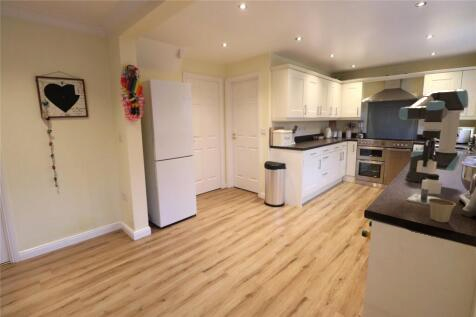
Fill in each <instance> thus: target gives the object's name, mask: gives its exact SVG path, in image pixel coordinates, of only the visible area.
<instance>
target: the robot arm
mask: <svg viewBox="0 0 476 317" xmlns="http://www.w3.org/2000/svg"><path fill="white" fill-rule="evenodd" d="M468 107H469V93H468V91H467V89H459V88H458V89H450V90H436V91H432V92H428V93H426V94H424V95H422V96H420V97H419V98H418V99H417V100H416V101H415V102H414V103H413V104H412V105H411V104H410V105H409V106H405V107H400V109H399V111H398V118H399V119H400V120H405V121H407V120H408V121H409V120H419V121H420V120H423V124H422V127H423V131H422V138H425V139H426V140H425V141H424V142H423V148H422V149H418V150H413V151H411V152H410V161H409V169H408V171H407V173H406V175H405V178H404V180H406V181H407V182H408V181H409V182H412V183H417V184H418V183H419V184H422V180H426V176H427V174H428V166H429V161H435V162H437V165H436V170H441V171H447V172H448V171H449V172H450V171H451V172H453V171H455V170H456V169H457V166H458V165H459V162H460V160H461V154H458V152H459V151H458V150H457V149H456V146H457V145H456V144H457V139H458V138H457V137H458V131H459V124H460V117H461V114H462V113H463V112H464V111H465V109H466V108H468ZM436 139H439V143H438V148H437V149H436V144H437V141H436ZM420 160H421V161H422V168H421V172H416V171H417V164H418V161H420ZM422 172H423V173H422Z"/></svg>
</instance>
